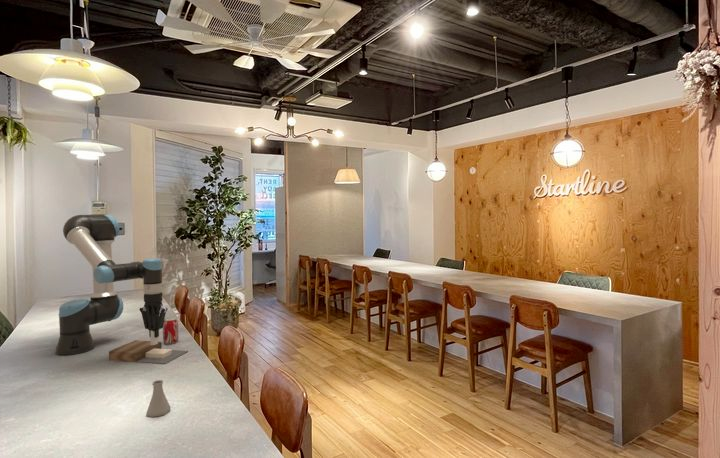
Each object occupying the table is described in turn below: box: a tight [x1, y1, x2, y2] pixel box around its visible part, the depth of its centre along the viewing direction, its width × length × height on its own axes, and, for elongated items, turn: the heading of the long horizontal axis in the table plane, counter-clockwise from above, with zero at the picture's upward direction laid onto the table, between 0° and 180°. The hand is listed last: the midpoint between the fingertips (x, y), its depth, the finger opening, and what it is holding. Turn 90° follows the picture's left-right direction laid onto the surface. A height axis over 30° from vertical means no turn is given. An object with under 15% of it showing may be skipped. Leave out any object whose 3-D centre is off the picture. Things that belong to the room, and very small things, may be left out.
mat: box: [136, 349, 189, 365], centre depth 181 cm, size 14×16×1 cm
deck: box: [108, 339, 162, 363], centre depth 184 cm, size 14×16×4 cm
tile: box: [145, 348, 173, 358], centre depth 182 cm, size 9×6×2 cm, turn 81°
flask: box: [145, 379, 171, 418], centre depth 130 cm, size 7×7×10 cm
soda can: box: [162, 317, 179, 345], centre depth 202 cm, size 7×7×12 cm
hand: (154, 344), depth 182 cm, fingers closed
